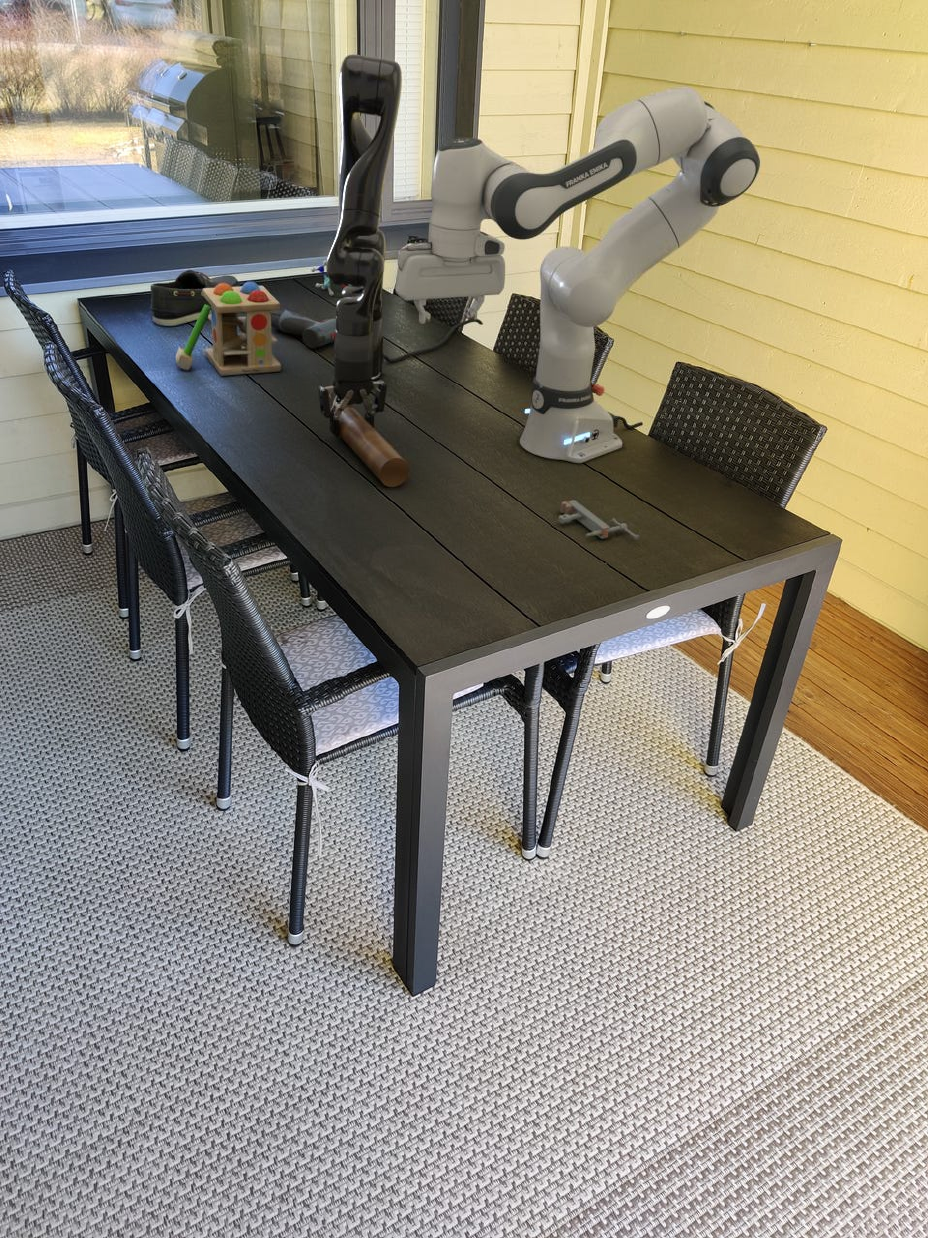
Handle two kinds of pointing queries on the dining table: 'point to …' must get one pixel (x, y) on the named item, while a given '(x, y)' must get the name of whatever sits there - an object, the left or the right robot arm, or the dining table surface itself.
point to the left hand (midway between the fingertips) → (352, 433)
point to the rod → (372, 448)
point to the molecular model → (327, 280)
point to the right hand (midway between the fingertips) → (447, 321)
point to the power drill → (304, 327)
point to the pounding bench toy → (229, 347)
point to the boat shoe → (183, 297)
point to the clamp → (582, 515)
